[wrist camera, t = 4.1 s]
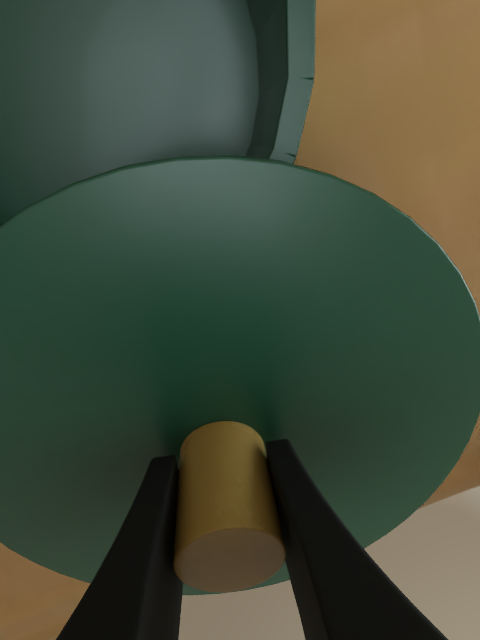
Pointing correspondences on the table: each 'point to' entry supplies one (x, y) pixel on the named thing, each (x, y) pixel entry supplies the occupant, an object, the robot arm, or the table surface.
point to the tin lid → (224, 361)
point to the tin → (146, 86)
